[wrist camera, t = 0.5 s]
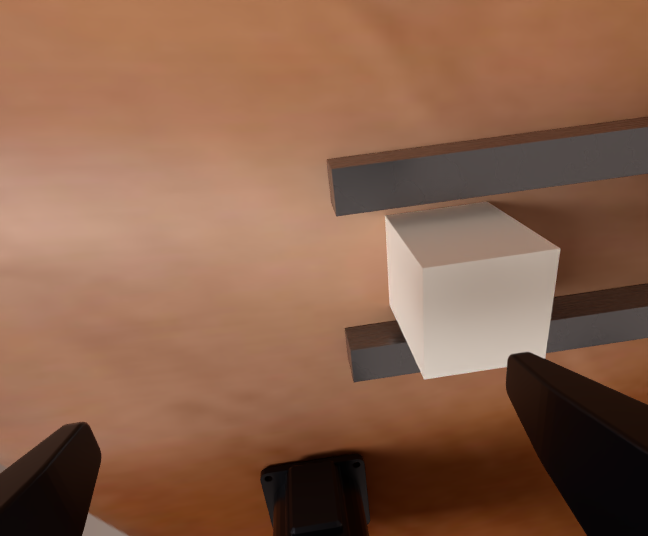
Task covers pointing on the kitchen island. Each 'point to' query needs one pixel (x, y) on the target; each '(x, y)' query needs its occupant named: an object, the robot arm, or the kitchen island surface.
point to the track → (489, 179)
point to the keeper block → (469, 287)
